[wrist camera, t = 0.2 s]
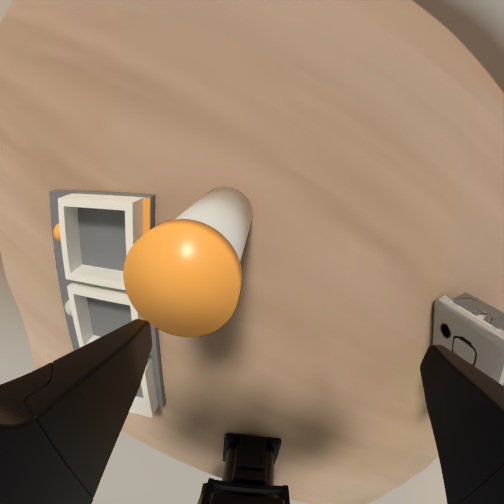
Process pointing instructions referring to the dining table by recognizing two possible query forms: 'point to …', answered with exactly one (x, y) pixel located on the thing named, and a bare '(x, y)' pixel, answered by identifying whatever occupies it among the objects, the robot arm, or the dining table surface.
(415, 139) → the dining table surface
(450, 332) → the electrical switch
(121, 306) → the grey compartment tray
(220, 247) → the plug
